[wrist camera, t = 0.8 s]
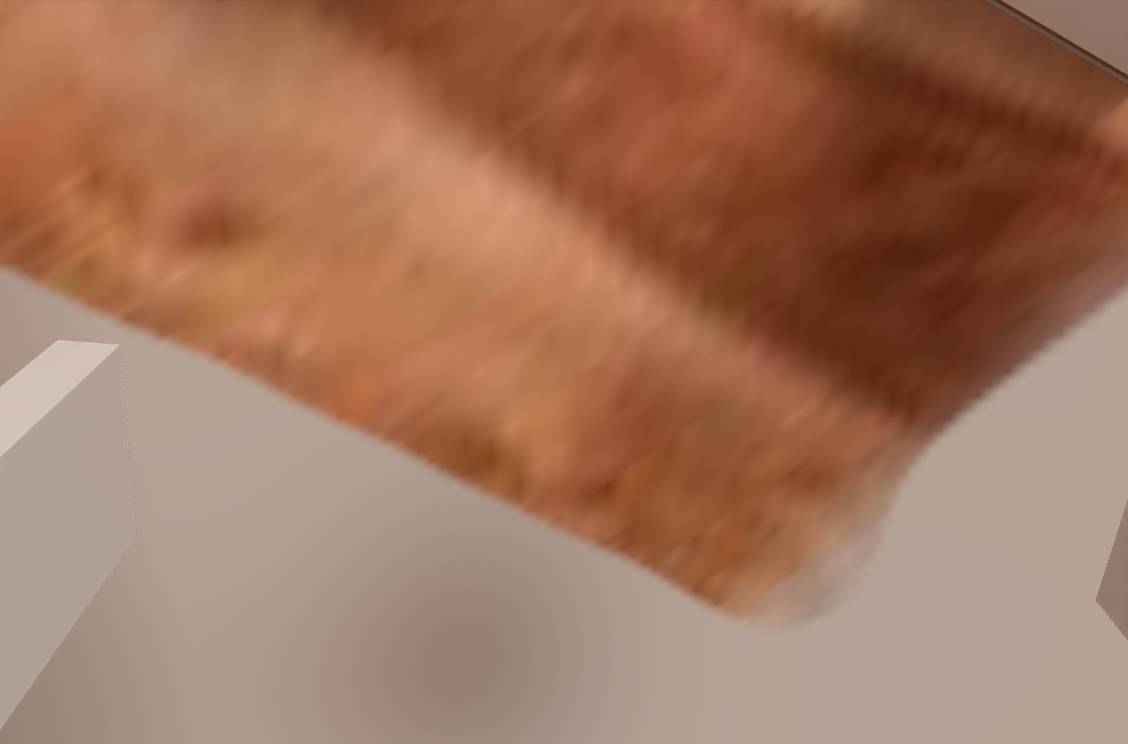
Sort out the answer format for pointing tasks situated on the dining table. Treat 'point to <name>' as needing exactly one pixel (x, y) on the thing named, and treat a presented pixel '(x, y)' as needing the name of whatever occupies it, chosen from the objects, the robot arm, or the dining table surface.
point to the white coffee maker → (1079, 28)
